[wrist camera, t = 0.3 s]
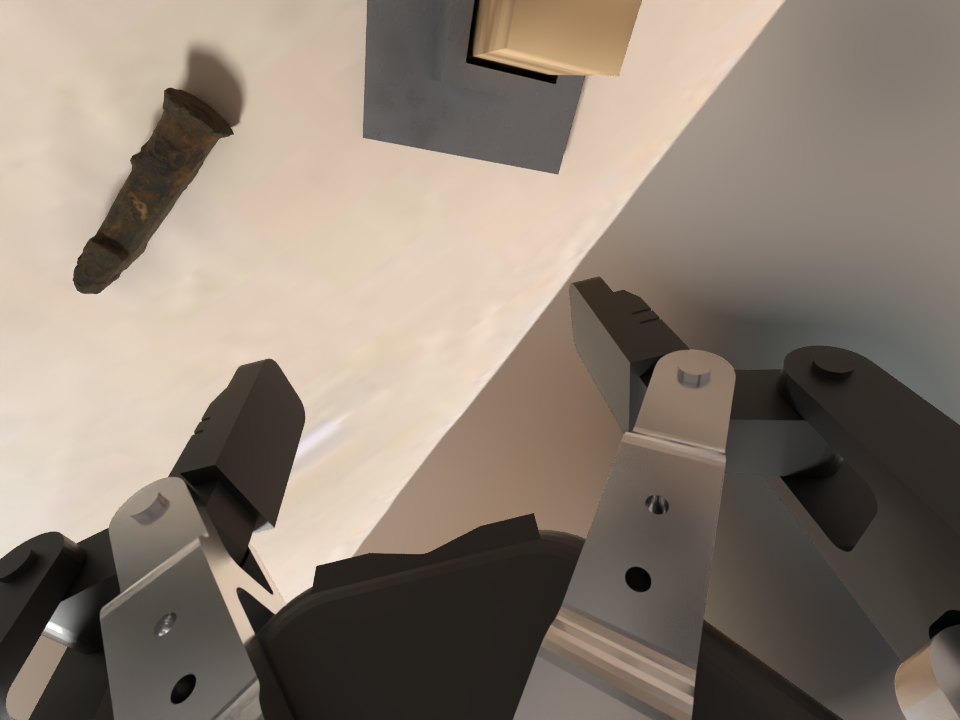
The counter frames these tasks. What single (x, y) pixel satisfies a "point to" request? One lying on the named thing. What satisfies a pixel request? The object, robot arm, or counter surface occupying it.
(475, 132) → the metal sleeve stand
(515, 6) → the oak post
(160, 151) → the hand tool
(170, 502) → the robot arm
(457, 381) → the counter surface
